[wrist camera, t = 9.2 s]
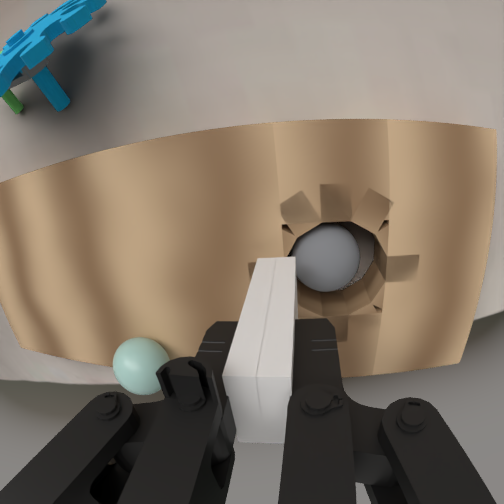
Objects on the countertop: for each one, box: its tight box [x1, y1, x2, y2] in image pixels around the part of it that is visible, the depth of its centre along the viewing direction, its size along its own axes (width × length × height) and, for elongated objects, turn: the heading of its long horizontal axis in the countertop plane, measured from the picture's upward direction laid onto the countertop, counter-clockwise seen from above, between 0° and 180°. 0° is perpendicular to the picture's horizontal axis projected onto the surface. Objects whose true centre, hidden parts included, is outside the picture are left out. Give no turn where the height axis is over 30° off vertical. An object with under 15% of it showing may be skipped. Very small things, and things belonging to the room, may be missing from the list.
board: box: [0, 119, 497, 378], centre depth 16 cm, size 32×13×2 cm, turn 96°
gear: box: [0, 0, 107, 114], centre depth 12 cm, size 11×6×10 cm
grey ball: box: [291, 222, 360, 292], centre depth 14 cm, size 3×3×3 cm
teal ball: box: [113, 337, 170, 395], centre depth 15 cm, size 3×3×3 cm
